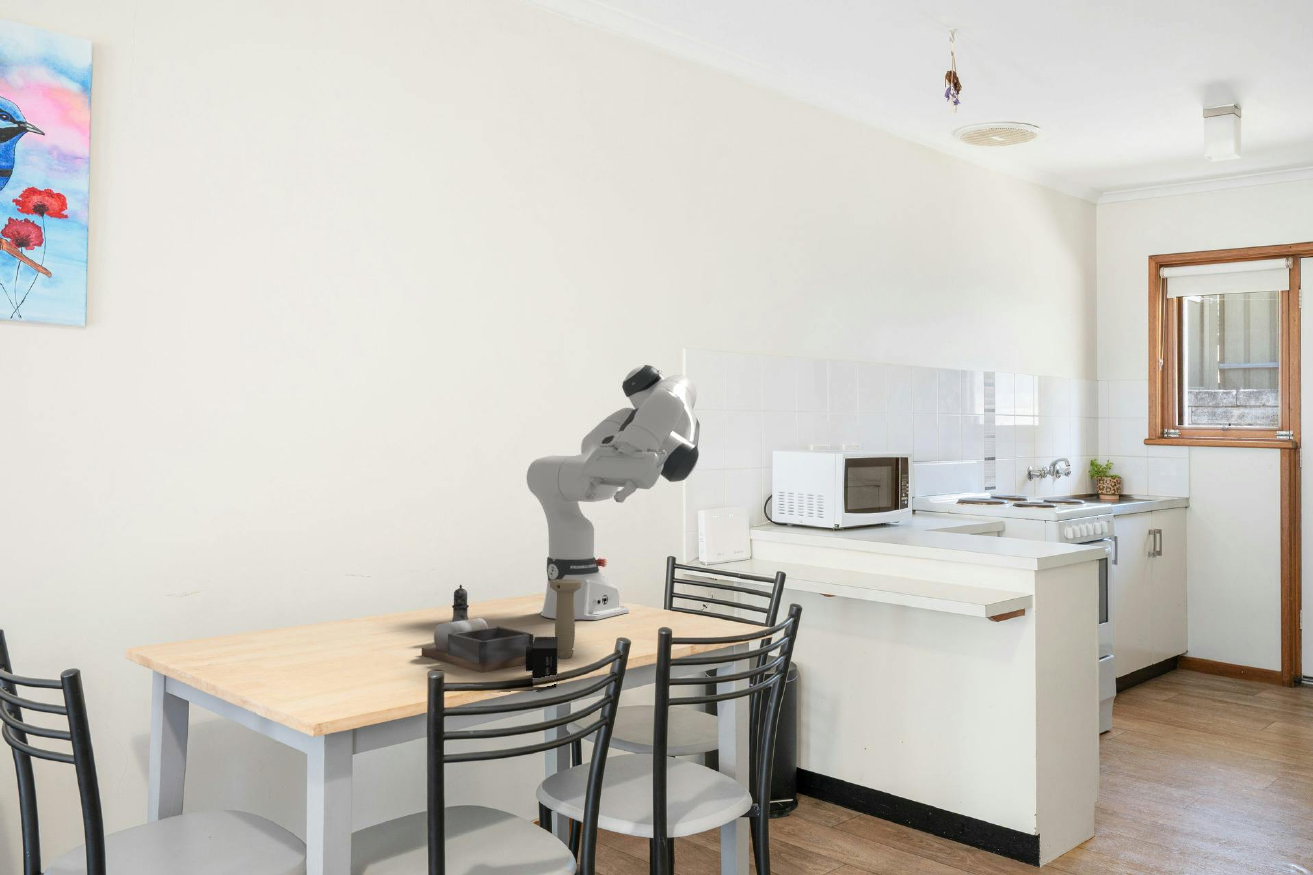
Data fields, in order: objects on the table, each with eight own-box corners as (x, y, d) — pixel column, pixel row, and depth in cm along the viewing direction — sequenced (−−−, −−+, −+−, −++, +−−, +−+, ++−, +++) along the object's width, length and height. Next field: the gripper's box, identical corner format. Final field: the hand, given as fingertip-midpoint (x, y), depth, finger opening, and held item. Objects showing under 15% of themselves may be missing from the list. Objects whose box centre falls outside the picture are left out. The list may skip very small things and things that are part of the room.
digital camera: (527, 674, 187) (528, 635, 187) (557, 673, 188) (557, 635, 188) (525, 687, 177) (525, 647, 177) (556, 687, 177) (557, 647, 177)
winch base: (471, 646, 210) (472, 614, 210) (532, 662, 196) (533, 627, 196) (421, 655, 202) (422, 621, 202) (481, 672, 188) (482, 635, 188)
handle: (570, 660, 198) (572, 583, 198) (544, 657, 202) (545, 581, 202) (584, 656, 203) (585, 581, 203) (558, 652, 206) (559, 578, 206)
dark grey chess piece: (440, 640, 216) (441, 584, 216) (462, 636, 221) (463, 581, 221) (456, 644, 212) (457, 587, 212) (479, 640, 217) (480, 584, 217)
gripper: (678, 461, 211) (645, 512, 204) (611, 457, 225) (578, 505, 219) (662, 440, 207) (628, 492, 201) (596, 438, 222) (562, 486, 215)
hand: (601, 499), depth 210 cm, fingers open, 8 cm apart
